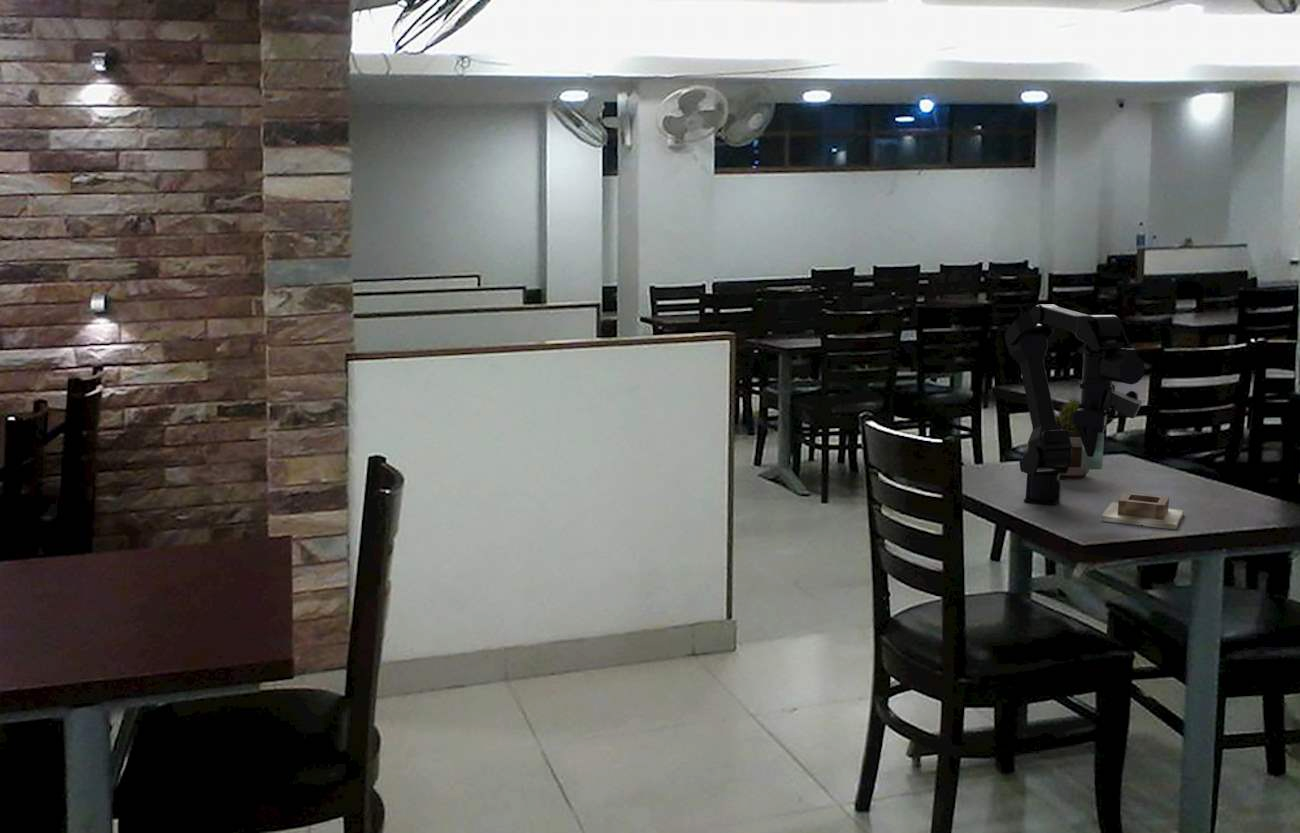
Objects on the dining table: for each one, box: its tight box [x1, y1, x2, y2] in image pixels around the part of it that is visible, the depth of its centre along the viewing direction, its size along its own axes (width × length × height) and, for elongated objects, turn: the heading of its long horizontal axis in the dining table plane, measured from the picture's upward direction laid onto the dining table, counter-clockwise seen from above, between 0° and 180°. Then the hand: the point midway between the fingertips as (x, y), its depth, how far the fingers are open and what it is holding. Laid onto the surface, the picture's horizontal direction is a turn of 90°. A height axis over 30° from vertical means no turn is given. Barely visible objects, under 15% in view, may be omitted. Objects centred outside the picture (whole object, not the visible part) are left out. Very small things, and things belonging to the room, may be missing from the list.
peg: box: [1081, 432, 1105, 470], centre depth 258 cm, size 4×4×7 cm
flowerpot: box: [1054, 394, 1091, 481], centre depth 300 cm, size 14×15×20 cm
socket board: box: [1100, 491, 1185, 530], centre depth 261 cm, size 14×14×4 cm
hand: (1092, 454), depth 258 cm, fingers closed on peg, 4 cm apart
